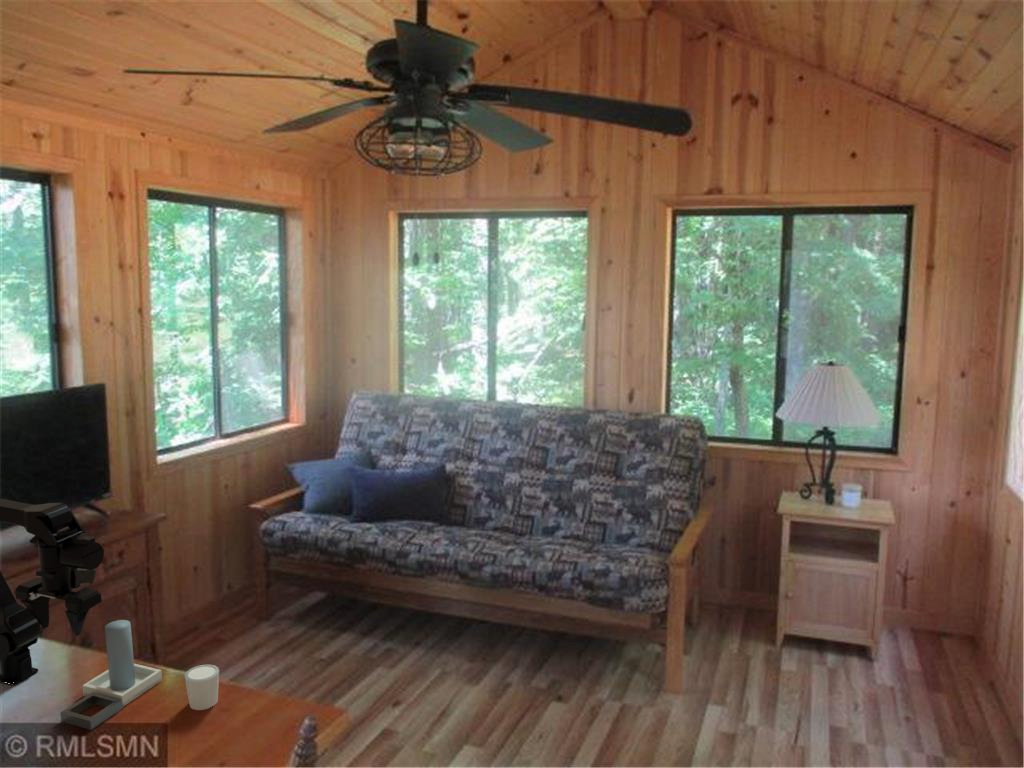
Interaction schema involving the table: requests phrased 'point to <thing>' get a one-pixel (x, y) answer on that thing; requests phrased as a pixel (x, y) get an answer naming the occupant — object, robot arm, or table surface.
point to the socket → (90, 723)
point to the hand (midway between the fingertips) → (61, 631)
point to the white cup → (202, 686)
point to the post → (120, 655)
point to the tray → (143, 682)
